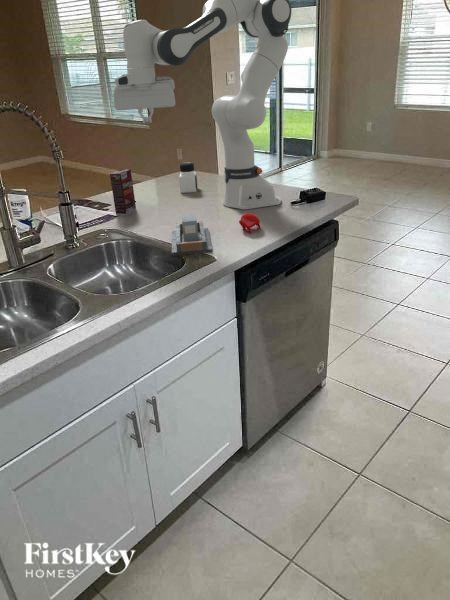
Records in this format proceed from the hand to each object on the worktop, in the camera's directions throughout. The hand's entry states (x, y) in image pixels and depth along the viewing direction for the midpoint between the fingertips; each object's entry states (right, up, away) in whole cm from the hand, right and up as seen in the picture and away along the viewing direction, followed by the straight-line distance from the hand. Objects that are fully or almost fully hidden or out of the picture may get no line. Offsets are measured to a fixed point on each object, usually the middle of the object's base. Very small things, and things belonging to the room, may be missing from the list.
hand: (147, 122), depth 159 cm
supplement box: (-12, -26, +23) cm, 37 cm away
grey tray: (+16, -42, -11) cm, 46 cm away
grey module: (+16, -41, -11) cm, 45 cm away
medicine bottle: (+10, -12, +49) cm, 51 cm away
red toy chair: (+35, -37, -3) cm, 51 cm away
